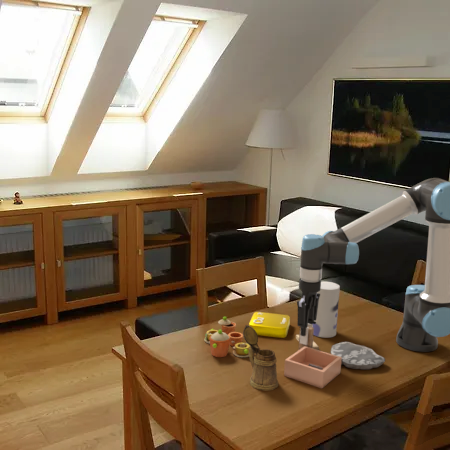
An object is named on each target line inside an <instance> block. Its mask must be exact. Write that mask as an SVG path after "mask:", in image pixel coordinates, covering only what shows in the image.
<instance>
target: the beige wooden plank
mask: <svg viewBox="0 0 450 450" xmlns="http://www.w3.org/2000/svg"><path fill="white" fill-rule="evenodd" d="M295 339H296V340H297V341H298V342H299V334H296V335H295ZM319 347H320V346H319V345H318V344H317V343H316V342H315V341H314V340H313V349H316V350H320V348H319Z"/></svg>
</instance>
